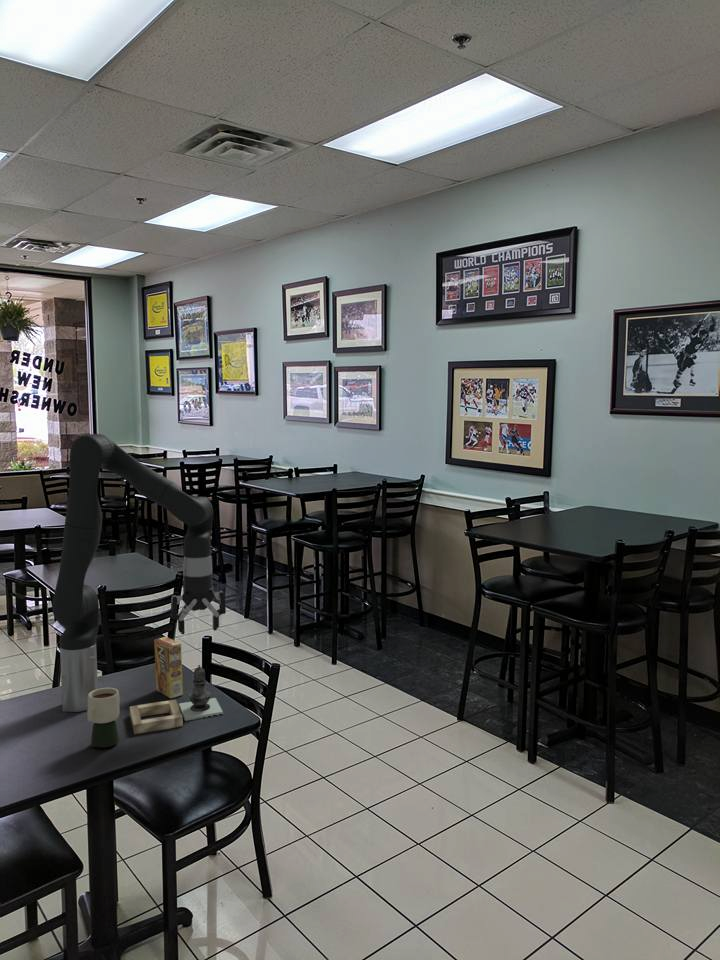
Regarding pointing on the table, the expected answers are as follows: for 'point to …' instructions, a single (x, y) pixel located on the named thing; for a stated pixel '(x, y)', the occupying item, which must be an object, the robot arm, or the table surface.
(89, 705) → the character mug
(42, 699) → the table surface
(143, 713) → the beige square frame
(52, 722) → the table surface
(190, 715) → the coaster
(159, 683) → the candy box
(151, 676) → the table surface
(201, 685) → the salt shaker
